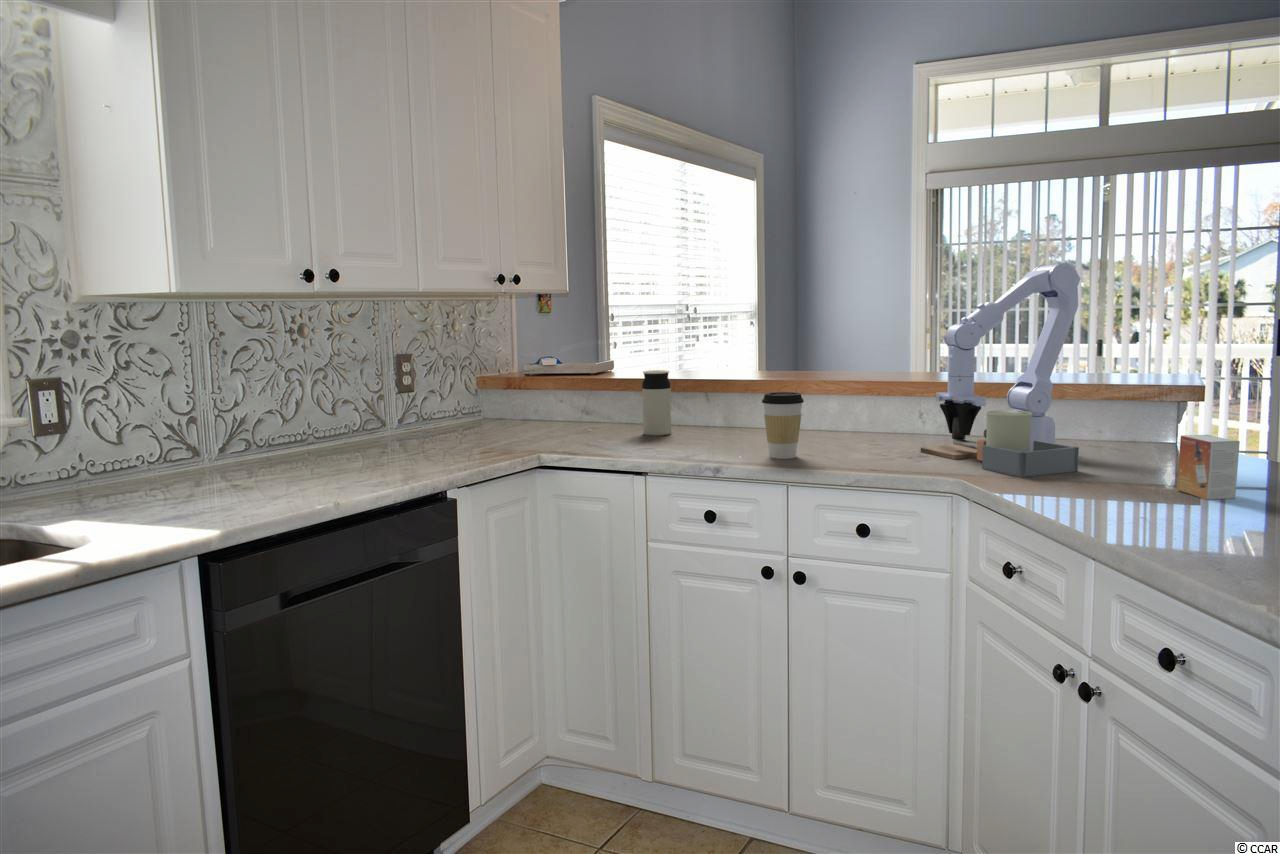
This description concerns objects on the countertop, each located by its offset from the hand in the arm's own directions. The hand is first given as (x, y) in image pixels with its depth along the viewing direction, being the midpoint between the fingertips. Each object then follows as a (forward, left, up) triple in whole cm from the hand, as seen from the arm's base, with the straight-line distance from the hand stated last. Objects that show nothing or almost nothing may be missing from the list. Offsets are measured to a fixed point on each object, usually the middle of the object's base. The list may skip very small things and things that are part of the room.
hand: (959, 434), depth 209 cm
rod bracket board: (0, -1, -5) cm, 5 cm away
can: (0, +15, -5) cm, 16 cm away
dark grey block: (0, +5, -4) cm, 7 cm away
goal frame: (0, +22, -5) cm, 22 cm away
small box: (-9, +55, -5) cm, 55 cm away
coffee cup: (+37, -17, -5) cm, 41 cm away
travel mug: (+49, -67, -5) cm, 84 cm away
